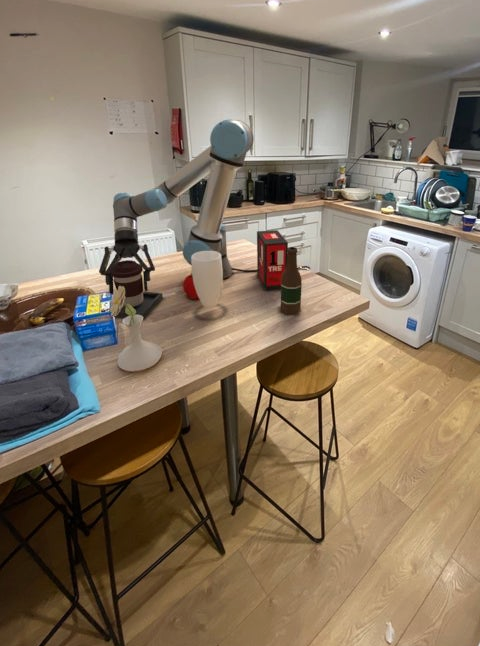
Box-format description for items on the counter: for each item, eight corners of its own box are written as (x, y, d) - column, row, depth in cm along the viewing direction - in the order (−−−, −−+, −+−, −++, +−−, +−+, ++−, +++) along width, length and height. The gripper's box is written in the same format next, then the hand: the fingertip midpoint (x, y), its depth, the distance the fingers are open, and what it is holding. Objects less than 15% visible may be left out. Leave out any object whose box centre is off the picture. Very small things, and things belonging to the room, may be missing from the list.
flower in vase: (123, 351, 97) (106, 273, 87) (165, 346, 100) (153, 270, 90) (111, 382, 86) (90, 296, 76) (158, 376, 88) (144, 293, 78)
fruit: (185, 291, 132) (182, 267, 128) (208, 289, 134) (206, 266, 130) (182, 302, 124) (179, 278, 120) (207, 300, 126) (205, 276, 122)
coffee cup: (152, 297, 123) (147, 259, 117) (138, 310, 114) (131, 270, 108) (127, 294, 124) (120, 257, 118) (110, 308, 115) (102, 268, 109)
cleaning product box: (286, 288, 138) (287, 242, 130) (265, 290, 135) (265, 244, 127) (276, 272, 152) (277, 230, 144) (257, 274, 150) (256, 231, 141)
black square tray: (163, 298, 126) (162, 292, 125) (144, 319, 113) (143, 313, 112) (124, 295, 127) (123, 290, 126) (100, 316, 113) (99, 310, 112)
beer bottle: (303, 306, 125) (306, 246, 115) (296, 317, 118) (299, 253, 108) (284, 302, 127) (285, 243, 117) (276, 312, 120) (277, 250, 110)
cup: (199, 322, 112) (193, 263, 104) (192, 308, 121) (186, 252, 112) (229, 315, 117) (226, 258, 108) (221, 302, 125) (217, 248, 117)
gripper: (160, 236, 128) (165, 291, 121) (93, 240, 121) (94, 298, 114) (158, 226, 121) (163, 284, 114) (87, 230, 114) (87, 292, 107)
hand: (128, 291), depth 114 cm, fingers closed on coffee cup, 10 cm apart
